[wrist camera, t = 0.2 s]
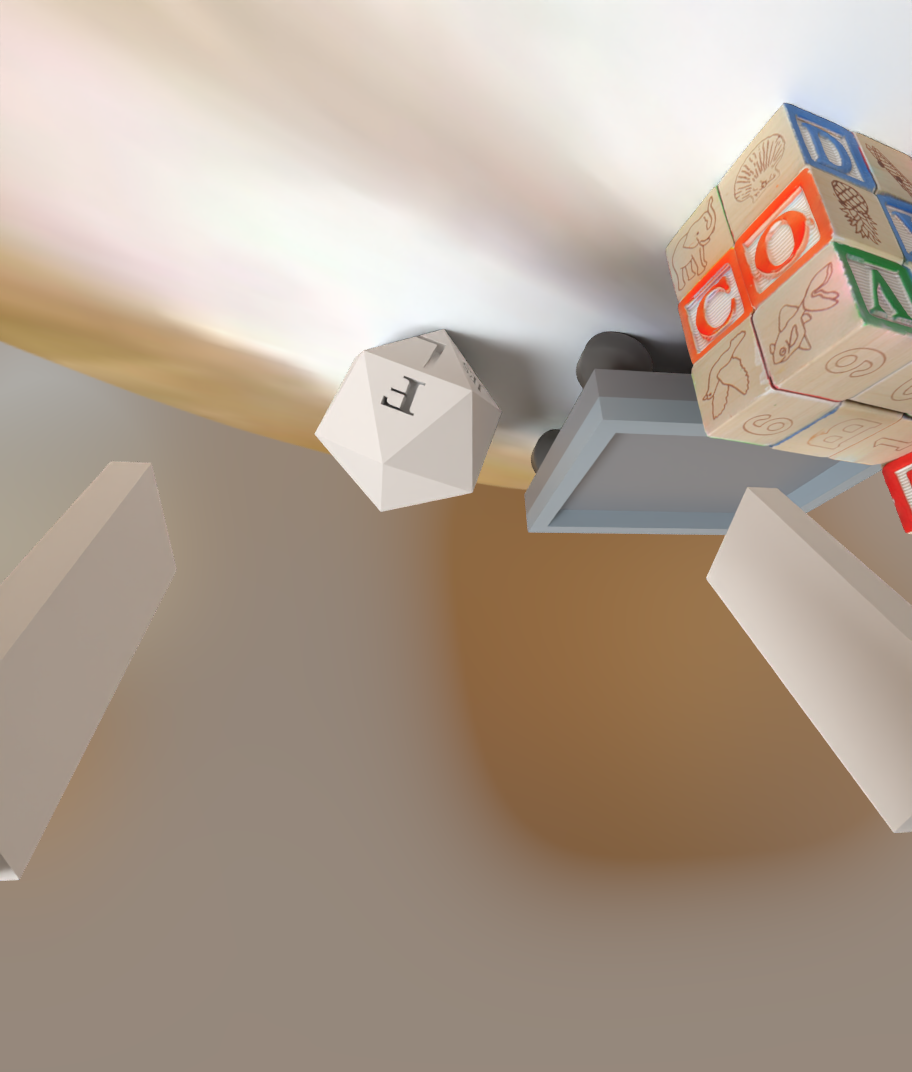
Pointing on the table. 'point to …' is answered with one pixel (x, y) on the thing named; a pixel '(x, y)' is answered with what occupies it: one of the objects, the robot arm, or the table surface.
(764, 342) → the stack of blocks
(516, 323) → the table surface
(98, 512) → the robot arm
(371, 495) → the die
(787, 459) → the trolley
